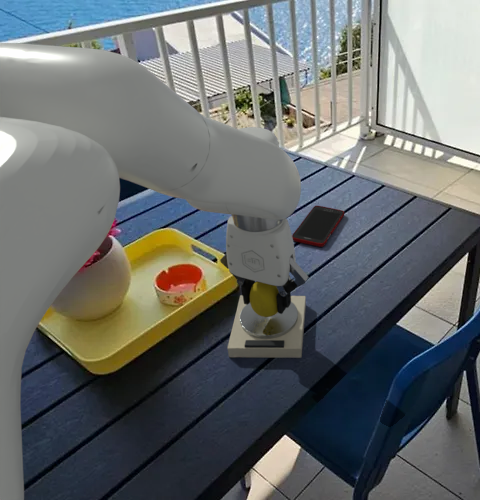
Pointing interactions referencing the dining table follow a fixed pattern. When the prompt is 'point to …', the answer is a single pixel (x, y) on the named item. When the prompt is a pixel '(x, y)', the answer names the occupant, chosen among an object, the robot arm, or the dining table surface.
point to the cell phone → (318, 226)
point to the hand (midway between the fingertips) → (266, 302)
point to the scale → (268, 332)
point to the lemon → (264, 299)
